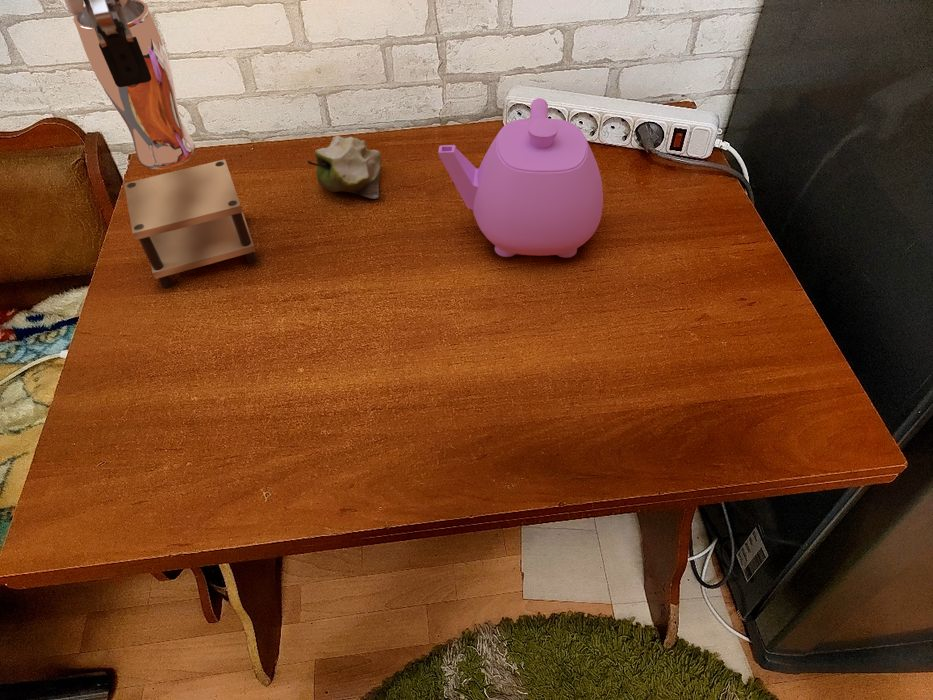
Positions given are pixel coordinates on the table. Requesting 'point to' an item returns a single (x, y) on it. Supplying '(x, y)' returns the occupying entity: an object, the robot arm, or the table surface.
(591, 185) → the teapot
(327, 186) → the fruit
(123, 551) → the table surface
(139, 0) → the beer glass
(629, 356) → the table surface
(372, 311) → the table surface
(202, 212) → the rack
